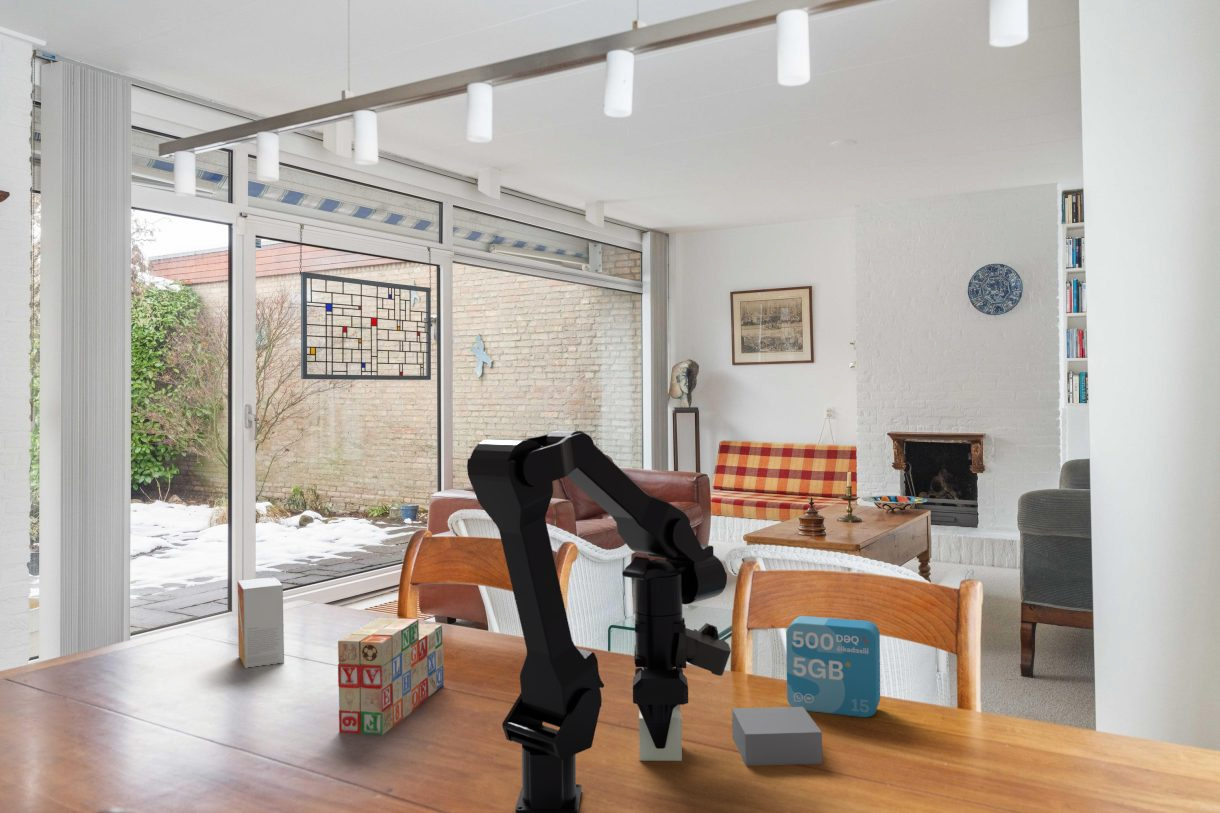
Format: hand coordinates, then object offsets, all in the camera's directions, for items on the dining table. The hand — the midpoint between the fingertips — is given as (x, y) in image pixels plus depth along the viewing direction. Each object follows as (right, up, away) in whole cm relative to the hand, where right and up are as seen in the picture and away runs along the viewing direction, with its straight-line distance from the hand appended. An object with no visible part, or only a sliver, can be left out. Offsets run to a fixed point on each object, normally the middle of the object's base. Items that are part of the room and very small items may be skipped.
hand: (660, 739), depth 112 cm
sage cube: (0, -2, 0) cm, 2 cm away
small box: (-64, -2, +43) cm, 77 cm away
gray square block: (+14, -2, 0) cm, 14 cm away
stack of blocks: (-36, -2, +18) cm, 41 cm away
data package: (+25, -1, +15) cm, 29 cm away
